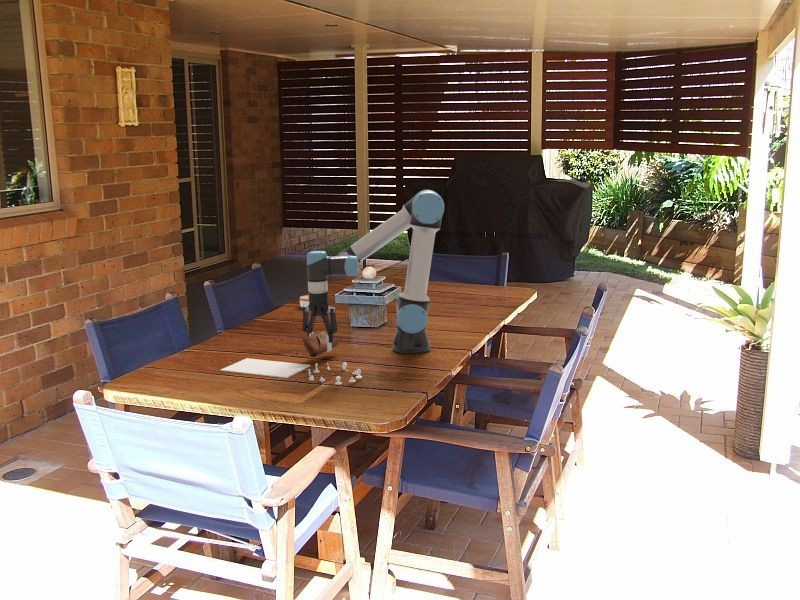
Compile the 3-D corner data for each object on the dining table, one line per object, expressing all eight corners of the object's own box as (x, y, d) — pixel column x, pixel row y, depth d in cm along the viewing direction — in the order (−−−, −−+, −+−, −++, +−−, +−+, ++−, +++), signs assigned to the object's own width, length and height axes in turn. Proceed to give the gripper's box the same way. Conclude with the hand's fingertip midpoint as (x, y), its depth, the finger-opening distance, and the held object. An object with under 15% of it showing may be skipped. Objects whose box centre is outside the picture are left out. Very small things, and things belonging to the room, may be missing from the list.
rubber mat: (310, 365, 316) (310, 364, 316) (286, 378, 299) (286, 377, 299) (246, 359, 326) (246, 358, 326) (220, 370, 310) (220, 369, 310)
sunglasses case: (323, 328, 334) (338, 329, 332) (324, 345, 335) (339, 347, 333) (301, 338, 318) (317, 339, 315) (302, 356, 319) (318, 358, 317)
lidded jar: (326, 311, 417) (325, 293, 415) (312, 315, 408) (312, 296, 406) (309, 309, 423) (308, 291, 421) (295, 313, 414) (295, 294, 412)
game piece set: (332, 367, 316) (332, 357, 315) (372, 376, 303) (372, 365, 303) (294, 378, 301) (294, 367, 300) (335, 388, 288) (335, 377, 288)
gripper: (345, 291, 321) (347, 349, 325) (300, 289, 329) (303, 346, 333) (336, 294, 314) (339, 354, 319) (290, 292, 322) (293, 350, 326)
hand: (320, 350), depth 326 cm, fingers closed on sunglasses case, 7 cm apart
